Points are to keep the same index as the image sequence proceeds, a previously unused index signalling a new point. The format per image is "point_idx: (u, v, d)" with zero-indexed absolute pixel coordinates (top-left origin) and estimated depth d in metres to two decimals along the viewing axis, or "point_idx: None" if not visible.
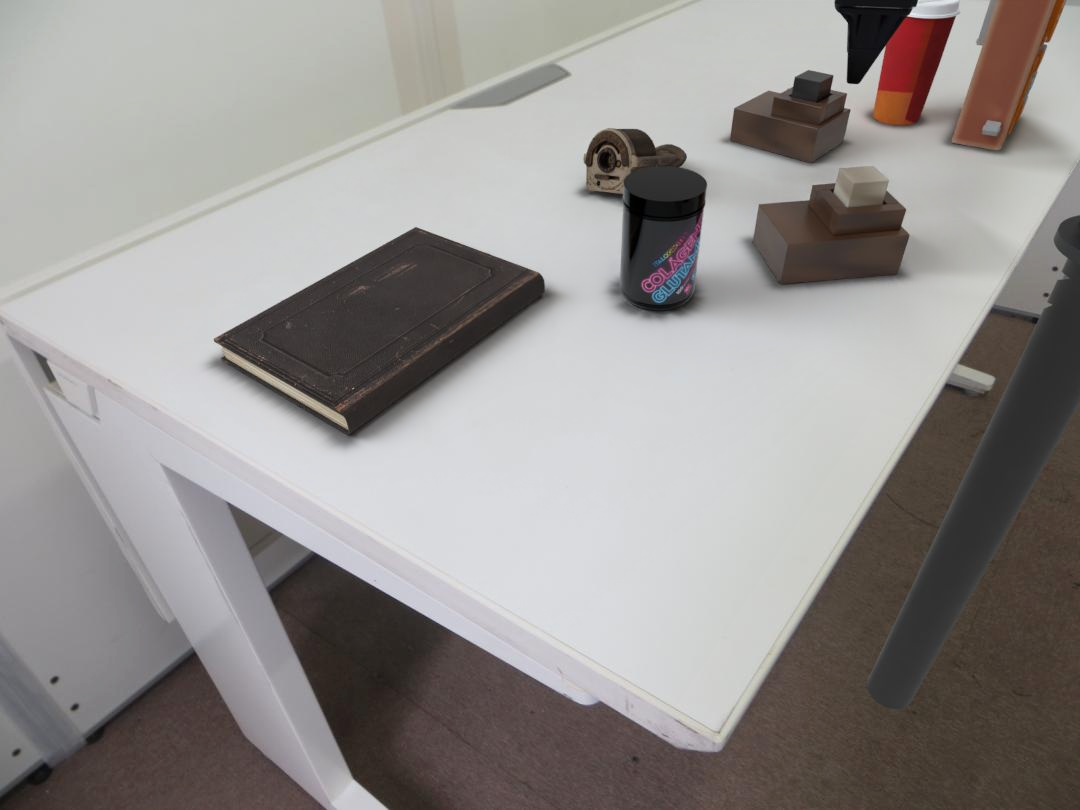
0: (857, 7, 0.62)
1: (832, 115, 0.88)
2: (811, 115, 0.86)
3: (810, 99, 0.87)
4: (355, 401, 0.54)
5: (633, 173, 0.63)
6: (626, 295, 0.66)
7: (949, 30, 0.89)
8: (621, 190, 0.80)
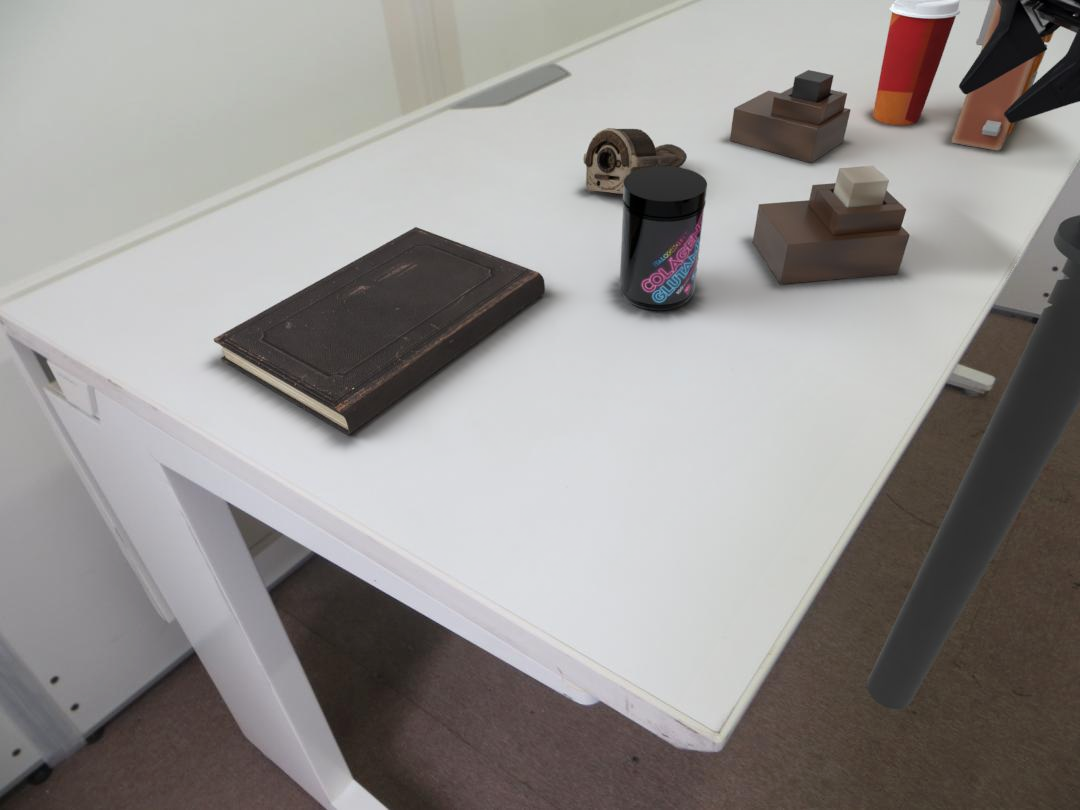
0: None
1: (832, 115, 0.88)
2: (811, 115, 0.86)
3: (810, 99, 0.87)
4: (355, 401, 0.54)
5: (633, 173, 0.63)
6: (626, 295, 0.66)
7: (949, 30, 0.89)
8: (621, 190, 0.80)
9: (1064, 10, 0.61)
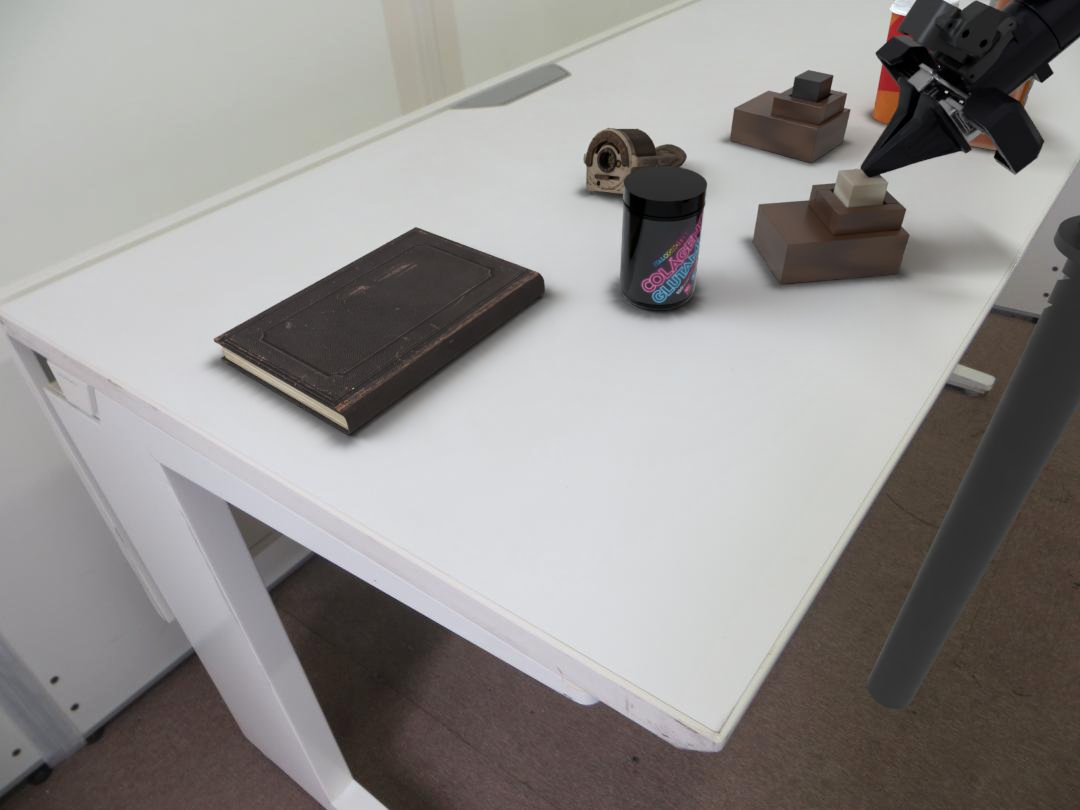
0: (950, 118, 0.60)
1: (832, 115, 0.88)
2: (811, 115, 0.86)
3: (810, 99, 0.87)
4: (355, 401, 0.54)
5: (633, 173, 0.63)
6: (626, 295, 0.66)
7: None
8: (621, 190, 0.80)
9: (937, 86, 0.64)
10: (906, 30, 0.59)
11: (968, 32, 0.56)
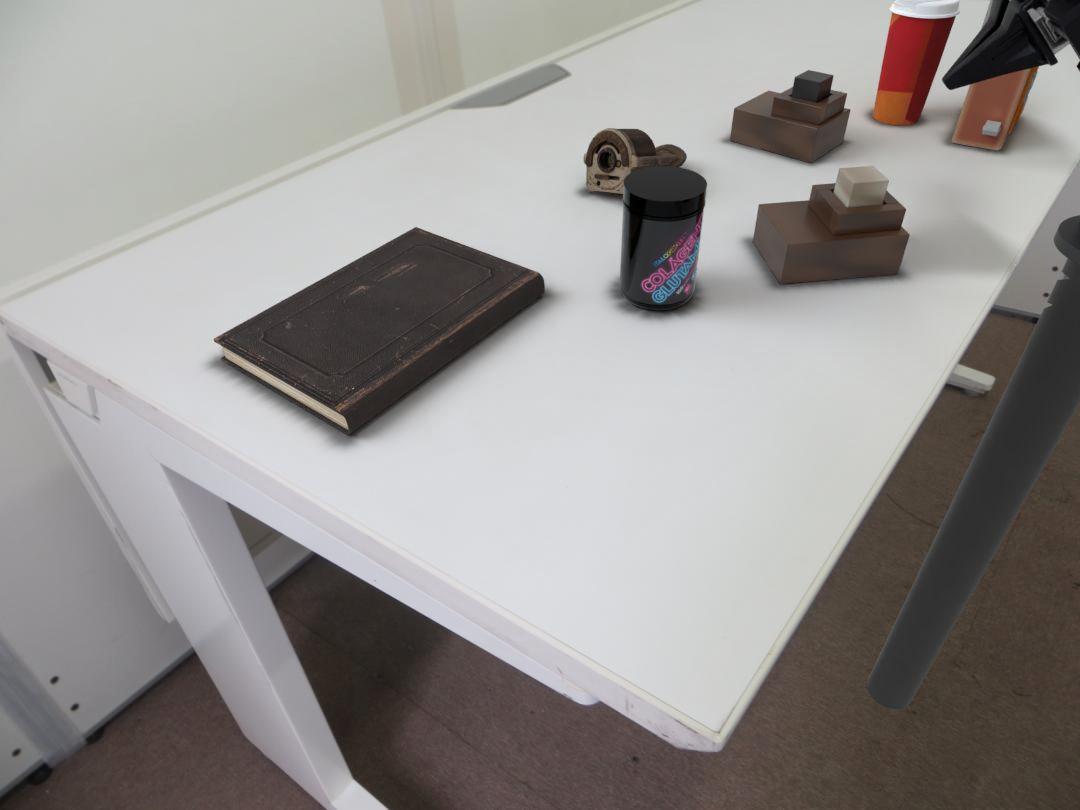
0: (1035, 24, 0.60)
1: (832, 115, 0.88)
2: (811, 115, 0.86)
3: (810, 99, 0.87)
4: (355, 401, 0.54)
5: (633, 173, 0.63)
6: (626, 295, 0.66)
7: (949, 30, 0.89)
8: (621, 190, 0.80)
9: None
10: None
11: None
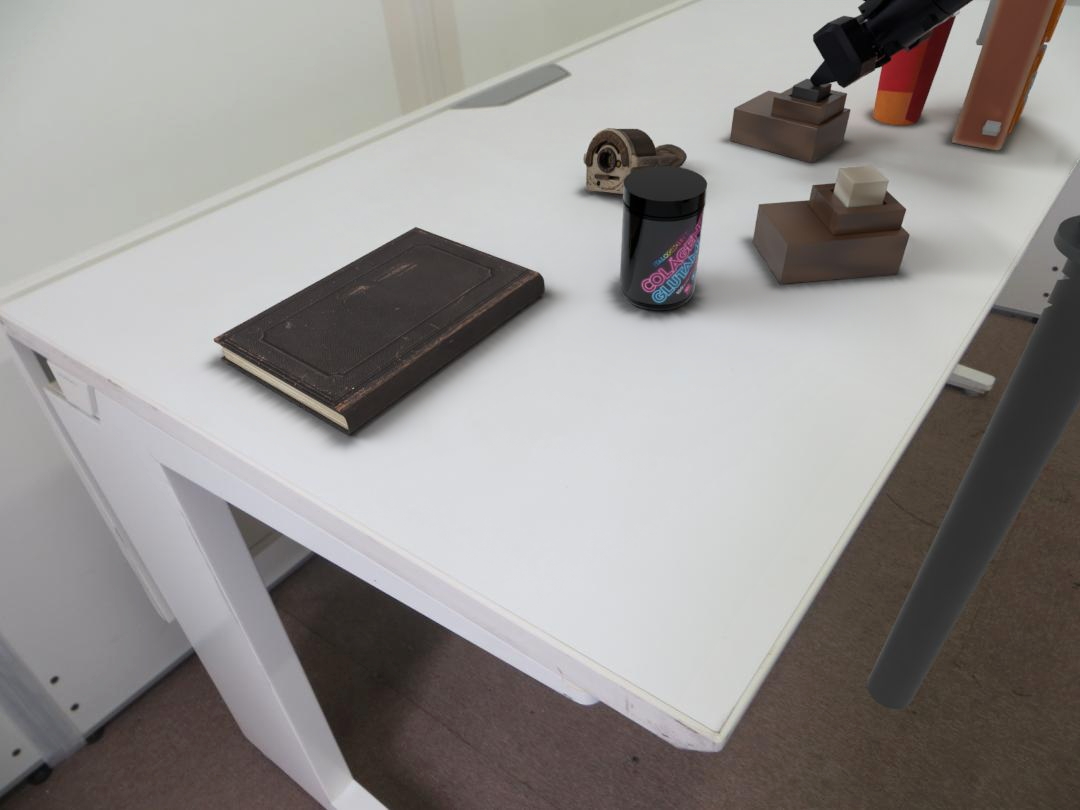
0: None
1: (832, 115, 0.88)
2: (811, 115, 0.86)
3: None
4: (355, 401, 0.54)
5: (633, 173, 0.63)
6: (626, 295, 0.66)
7: (949, 30, 0.89)
8: (621, 190, 0.80)
9: None
10: None
11: None
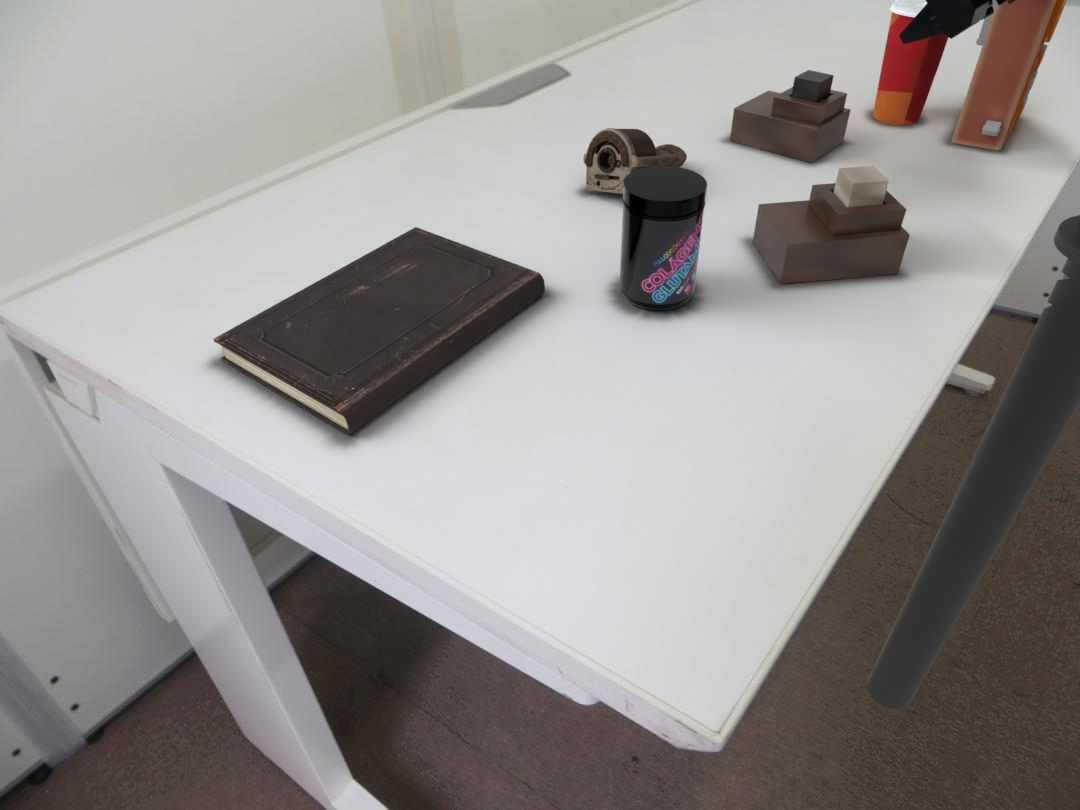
0: None
1: (832, 115, 0.88)
2: (811, 115, 0.86)
3: (810, 99, 0.87)
4: (355, 401, 0.54)
5: (633, 173, 0.63)
6: (626, 295, 0.66)
7: None
8: (621, 190, 0.80)
9: None
10: None
11: None
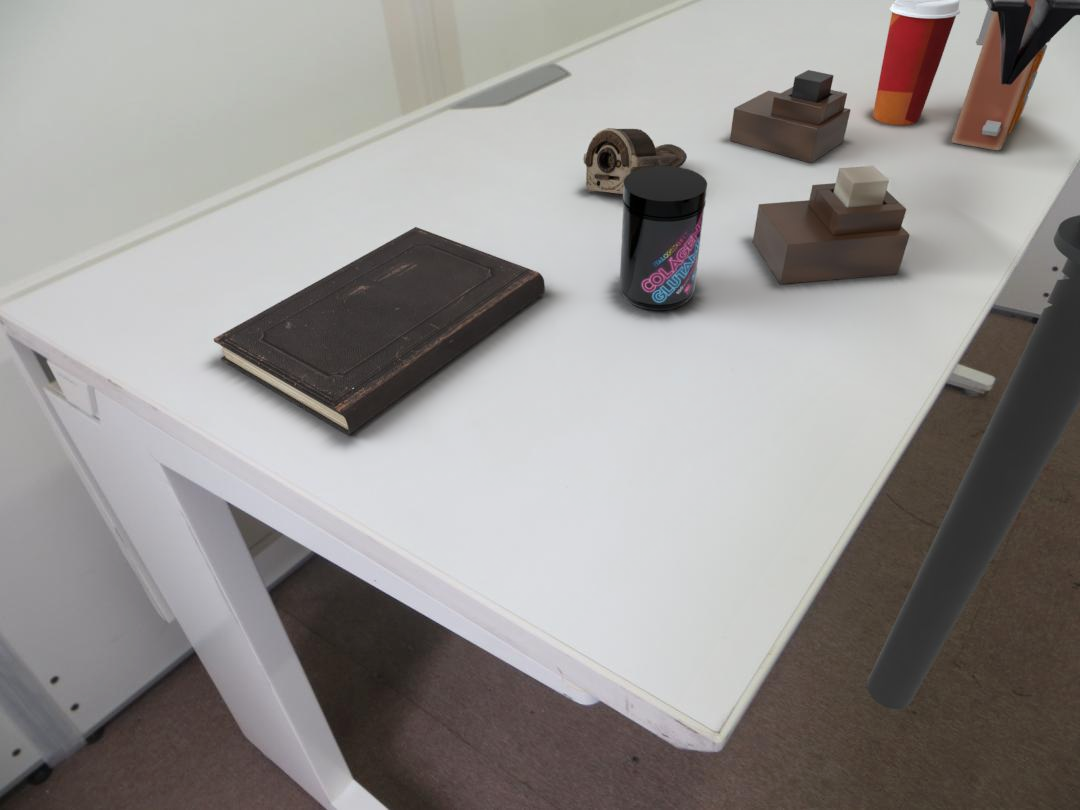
0: None
1: (832, 115, 0.88)
2: (811, 115, 0.86)
3: (810, 99, 0.87)
4: (355, 401, 0.54)
5: (633, 173, 0.63)
6: (626, 295, 0.66)
7: (949, 30, 0.89)
8: (621, 190, 0.80)
9: None
10: None
11: None
